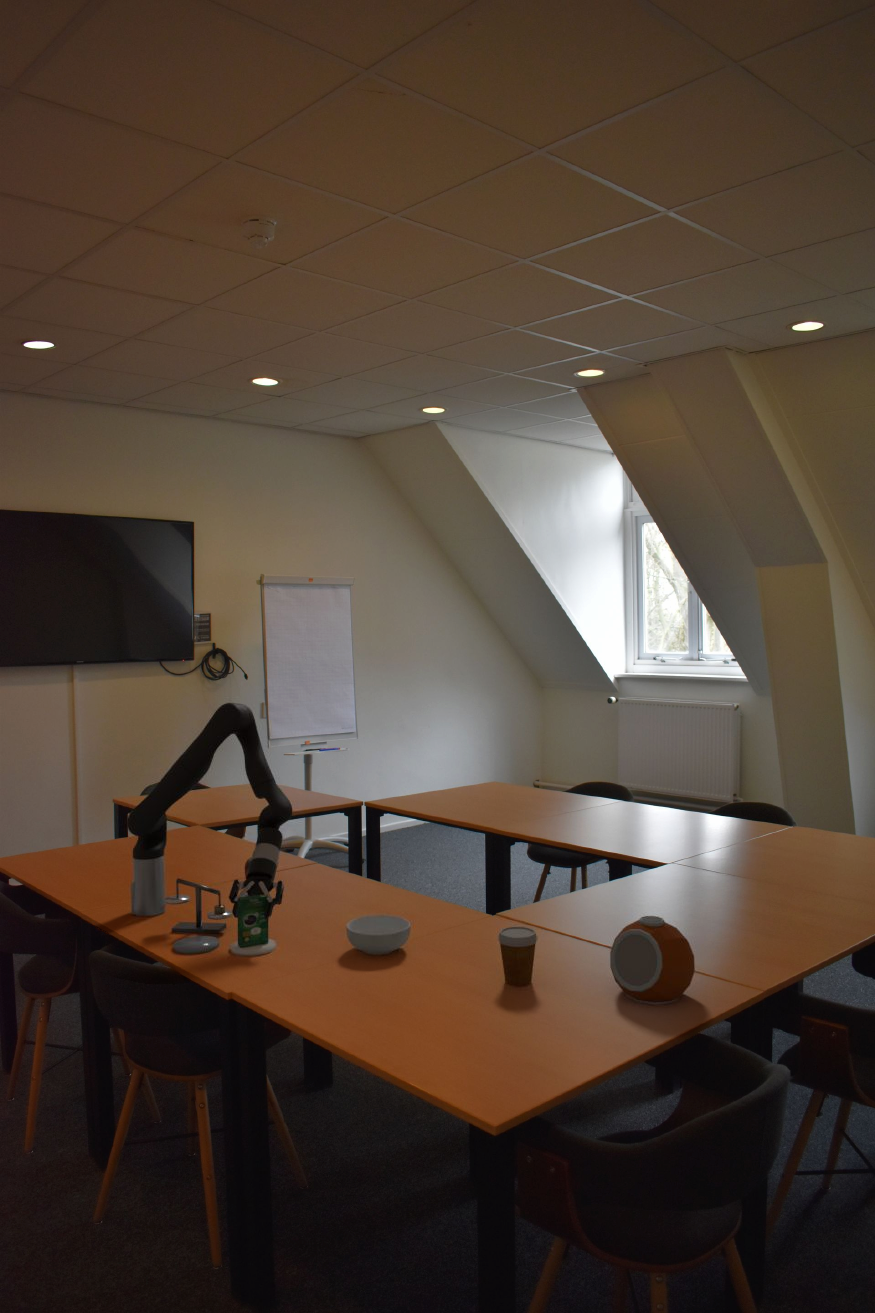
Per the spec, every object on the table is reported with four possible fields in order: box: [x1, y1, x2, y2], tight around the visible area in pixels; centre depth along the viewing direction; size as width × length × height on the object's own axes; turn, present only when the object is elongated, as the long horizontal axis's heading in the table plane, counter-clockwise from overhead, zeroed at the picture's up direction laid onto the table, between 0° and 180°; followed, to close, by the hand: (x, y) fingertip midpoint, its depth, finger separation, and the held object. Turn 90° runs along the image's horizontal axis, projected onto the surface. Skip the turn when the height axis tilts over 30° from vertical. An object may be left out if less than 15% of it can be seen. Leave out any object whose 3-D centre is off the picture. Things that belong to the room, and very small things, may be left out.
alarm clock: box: [609, 915, 696, 1005], centre depth 216 cm, size 19×18×17 cm
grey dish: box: [173, 935, 220, 955], centre depth 254 cm, size 12×12×1 cm
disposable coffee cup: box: [497, 925, 538, 987], centre depth 225 cm, size 10×10×12 cm
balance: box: [165, 878, 233, 935], centre depth 269 cm, size 20×7×15 cm, turn 82°
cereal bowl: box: [345, 914, 411, 956], centre depth 249 cm, size 17×17×7 cm
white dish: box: [229, 937, 277, 957], centre depth 252 cm, size 12×12×1 cm
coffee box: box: [237, 894, 269, 948], centre depth 252 cm, size 8×3×13 cm, turn 120°
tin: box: [244, 856, 252, 879], centre depth 324 cm, size 15×3×8 cm, turn 168°
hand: (250, 917), depth 251 cm, fingers open, 8 cm apart
